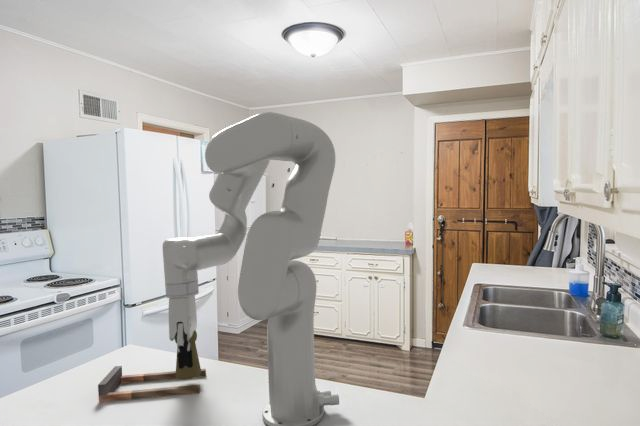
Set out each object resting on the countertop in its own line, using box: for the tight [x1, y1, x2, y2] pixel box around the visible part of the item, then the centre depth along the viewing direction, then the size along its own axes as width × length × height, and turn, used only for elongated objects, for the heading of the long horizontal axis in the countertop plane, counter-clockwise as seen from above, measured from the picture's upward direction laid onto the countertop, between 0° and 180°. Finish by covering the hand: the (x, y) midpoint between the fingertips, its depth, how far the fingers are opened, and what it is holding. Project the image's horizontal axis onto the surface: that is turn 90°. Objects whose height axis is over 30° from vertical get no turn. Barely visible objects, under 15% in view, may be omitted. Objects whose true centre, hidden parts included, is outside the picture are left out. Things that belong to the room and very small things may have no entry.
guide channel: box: [97, 365, 207, 403], centre depth 99 cm, size 22×10×4 cm, turn 97°
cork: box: [174, 329, 202, 381], centre depth 100 cm, size 6×6×11 cm
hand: (187, 363), depth 100 cm, fingers closed on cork, 3 cm apart
